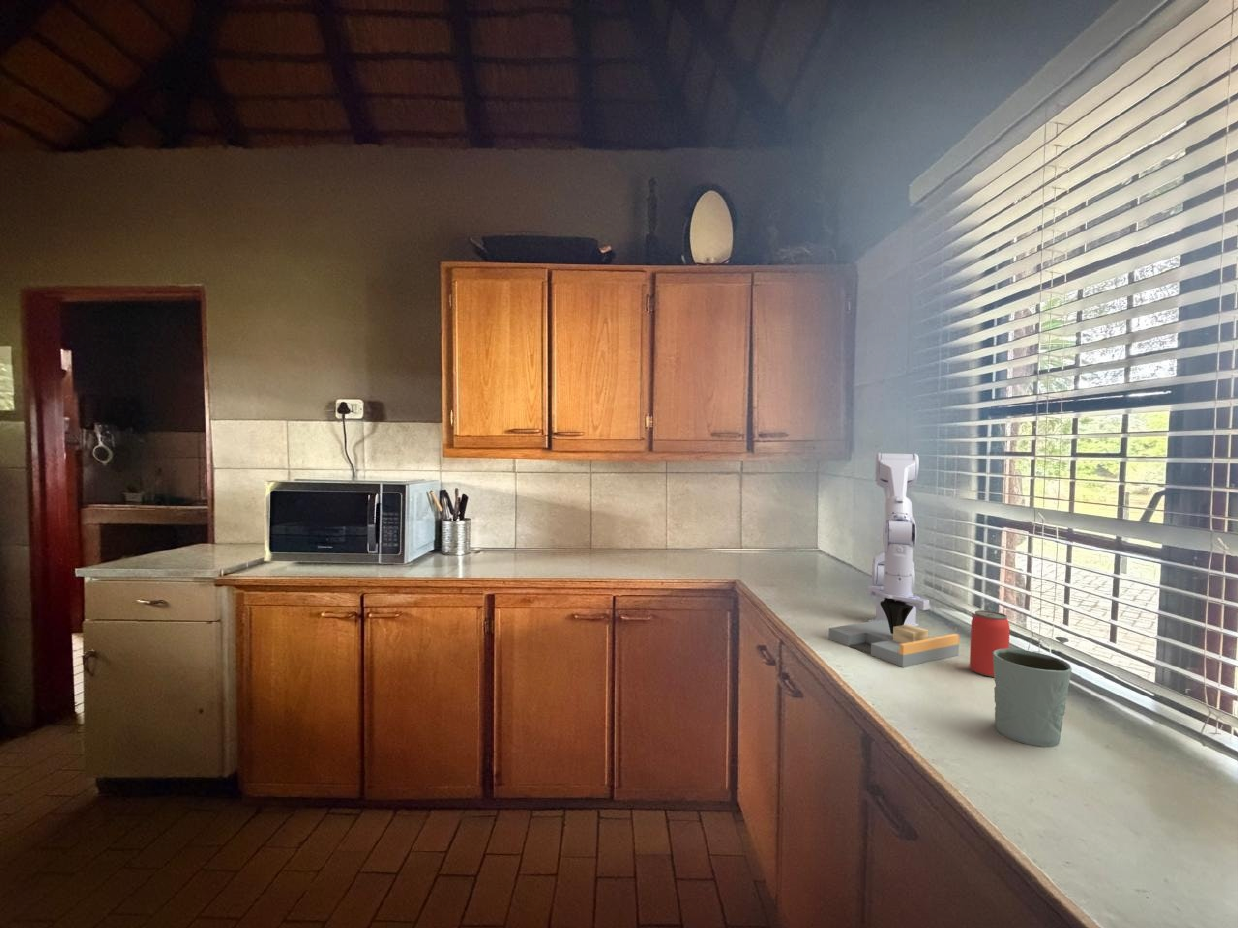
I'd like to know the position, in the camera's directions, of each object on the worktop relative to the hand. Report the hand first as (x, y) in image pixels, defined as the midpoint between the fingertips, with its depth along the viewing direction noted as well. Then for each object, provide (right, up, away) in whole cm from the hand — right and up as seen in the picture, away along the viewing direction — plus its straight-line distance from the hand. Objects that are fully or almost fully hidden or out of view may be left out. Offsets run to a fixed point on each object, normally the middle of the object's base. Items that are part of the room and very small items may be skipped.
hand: (895, 633), depth 134 cm
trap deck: (-1, -3, +1) cm, 3 cm away
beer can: (+12, -4, -14) cm, 19 cm away
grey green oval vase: (+2, -5, -40) cm, 40 cm away
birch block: (+2, -1, -3) cm, 4 cm away
